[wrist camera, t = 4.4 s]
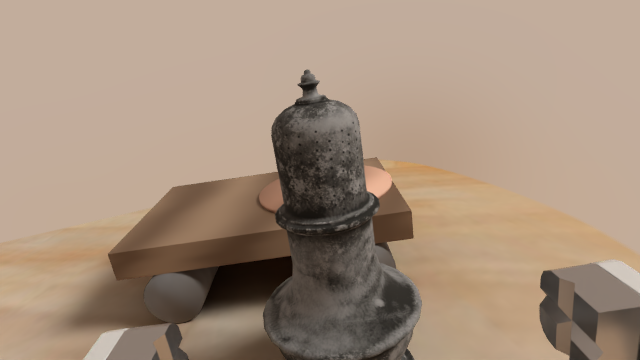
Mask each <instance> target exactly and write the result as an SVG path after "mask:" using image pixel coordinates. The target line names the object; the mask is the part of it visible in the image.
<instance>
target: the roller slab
mask: <svg viewBox="0 0 640 360" xmlns="http://www.w3.org/2000/svg"><path fill="white" fill-rule="evenodd" d="M363 162H364V171H365V179H366V188H367V191H368V192H371V193H373V194H374V195H375V196H376V197H377V198H378V199H379V203H380V207H379V209H378V211H377V213H376V214H375V215H374V216H373V217H372V223H373V232H374V241H375V250H376V254H377V257H378V260H379V263H382V264H385V265H387V266H390V267H392V268H395V269H396V265H395V261H394V259H393V256H392V254H391V252H390V249H389V247H388V244H387V242H390V241H397V240H404V239H411V238H413V225H412V212H411V209H410V208H409V206H408V205H407V203H406V202H405V200H404V198H403V197H402V195H401V194H400V192H399V191H398V189H397V188H396V186H395V185H394V183H393V182H392V178H391V176H390V175H389V174H388V173H387V172H386V171H385V169H384V168H383V166H382V165H381V163H380V162H379V160H378V159H377V158H369V159H363ZM282 204H284V202H283V196H282V191H281V185H280V180H279V174H278V172H273V173H266V174H259V175H253V176H246V177H239V178H232V179H226V180H218V181H212V182H204V183H198V184H191V185H184V186H177V187H173V188H172V189H171V190H170V191H169V192H168V193H167V194H166V195H165V196H164V197H163V198H162V199H161V200H160V201H159V202H158V203H157V204H156V205H155V206H154V207H153V208H152V209H151V210H150V211H149V212H148V213H147V214H146V215H145V216H144V217H143V218H142V219H141V221H140V222H139V223H138V224H137V225H136V226H135V227H134V228H133V229H132V230H131V231H130V232H129V233H128V234H127V235H126V236H125V237H124V238H123V239H122V240H121V241H120V242H119V243H118V244H117V245H116V246H115V247H114V248H113V249H112V250H111V251H110V252H109V253H108V256H109V259H110V262H111V265H112V268H113V271H114V274H115V276H116V279H117V280H124V279H131V278H138V277H145V276H152V275H153V277H152V278H151V280H150V281H149V283H148V284H147V286H146V288H145V290H144V301H145V304H146V307H147V308H148V310H149V311H150V312H151V313H152V314H153V315H154V316H155V317H157V318H158V319H160V320H162V321H165V322H169V323H183V322H187V321H189V320H191V319H193V318H194V317H196V316H197V315H198V314H199V312H200V311H201V309H202V306H203V304H204V301H205V299H206V296H207V294H208V291H209V289H210V287H211V284H212V282H213V279H214V277H215V274H216V272H217V269H218V267H219V266H222V265H229V264H236V263H243V262H250V261H257V260H264V259H271V258H278V257H285V256H291V252H290V246H289V241H288V235H287V230H285V229H283V228H281V227H280V226H279V225H278V224H277V223H276V219H275V213H276V211H277V209H278V208H279V207H280V206H281V205H282Z"/></svg>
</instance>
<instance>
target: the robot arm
mask: <svg viewBox="0 0 640 360" xmlns="http://www.w3.org/2000/svg"><path fill="white" fill-rule="evenodd" d="M540 288H541V289H542V290H543V291H544V293H545V294H546V295H547V296H546V297H545V298H544V300H543V301H542V302H541V304H540V321H541V325H542V328H543V331H544V333H545V335H546V337H547V339H548V340H549V342H550V343H551V344H552V345H553V346H554V348H555V349H556V350H558V351H560V352H562V353H565V354H567V355H569V356H570V359H569V360H640V273H639V272H637V271H635V270H634V269H632V268H631V267H629V266H628V265H626V264H625V263H623V262H622V261H618V260H614V259H612V260H606V261H600V262H594V263H590V264H586V265H579V266H573V267H566V268H560V269H553V270H547V271H543V274H542V276H541V283H540ZM181 340H182V336H181V333H180V330H179V327H178V325H176V324H175V323H167V324H158V325H150V326H141V327H133V328H125V329H118V330H111V331H107V332H105V333H103V334H101V336H100V337H99V339H98V340H97V341H96V343H95V344H94V345H93V347H92V348H91V349H90V351H89V352H88V354H87V355H86V356H85V358H84V359H83V360H189V359H188V356H187V354H186V353H185V352H183V351H182V350H181V349H180V348H178V347H179V345H180V342H181Z"/></svg>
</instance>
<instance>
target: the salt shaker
mask: <svg viewBox="0 0 640 360" xmlns="http://www.w3.org/2000/svg"><path fill="white" fill-rule="evenodd" d="M319 82H320V81H316V80H315V76H314V75H313V74H310V71H309V70H305V71H304V75H302V77H301V83H299V84H298V86H300V87H301V88H302V89H303V97H301V98H299V99H297V100H296V102H295V104H294V105H292V106H290V107H288V108H286V109H285V110H284V111H283V112H282V113H281V114H280V115H279V116H278V117H277V118H276V119H275V121H274V123H273V125H272V135H271V136H272V142H273V147H274V152H275V157H276V164H277V169H278V174H279V180H280V185H281V191H282V196H283V202H284V204H282V205H281V206H280V207H279V208H278V209H277V211H276V213H275V219H276V223H277V224H278V225H279V226H280V227H281V228H283V229H285V230H287V235H288V241H289V246H290V252H291V257H292V262H293V276H291V277H290V278H288V279H286V280H285V281H284V282H283V283H282V284H281V285H279V286H278V287H277V288H276V289H275V291H274V292H273V293H272V295H271V296H270V298H269V299H268V300H267V303H266V306H265V309H264V312H263V319H264V328H265V331H266V332H267V334H268V336H269V338H270V339H271V341H272V342H273V343H274V344H275V345H277V346H278V347H279V349H280V350H281V352H282V354H283V356H284V357H285V358H286V360H414V358H413V356H412V355H411V353H410V351H409V350H408V349H407V347H408V344H409V342H410V340H411V337H412V333H413V328H414V327H415V325H416V323H417V322H418V320H419V318H420V312H421V306H422V301H421V298H420V294H419V291H418V288H417V287H416V286H415V285H414V283H413V282H412V281H411V279H410V278H409V277H407V276H406V275H404V274H403V273H401V272H400V271H399V270H397V269H395V268H392V267H390V266H387V265H385V264H382V263H379V260H378V257H377V254H376V250H375V241H374V232H373V223H372V217H373V216H374V215H375V214H376V213H377V211H378V209H379V207H380V203H379V199H378V198H377V197H376V196H375V195H374V194H373V193H371V192H368V191H367V188H366V179H365V171H364V162H363V153H362V144H361V135H360V126H359V121H358V118H357V115H356V113H355V112H354V111H353V110H352V109H351V108H350V107H349V106H347V105H345V104H344V103H342V102H340V101H336V100H329V99H328V98H326V96H325V95H318V92H317V89H316V86H317V84H318V83H319Z"/></svg>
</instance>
